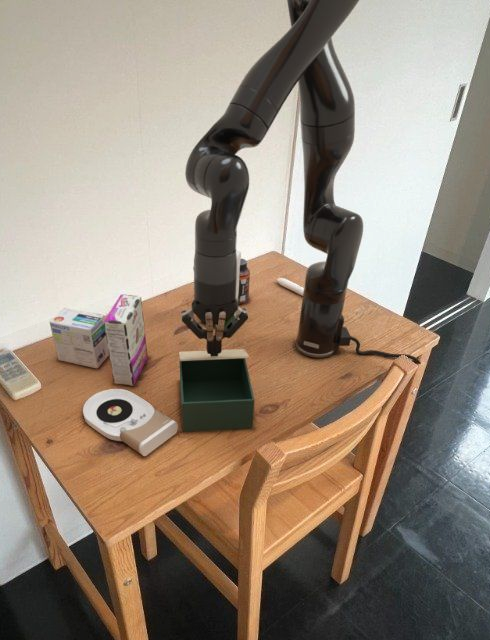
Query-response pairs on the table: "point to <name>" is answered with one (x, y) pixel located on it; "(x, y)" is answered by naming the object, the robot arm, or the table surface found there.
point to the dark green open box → (216, 395)
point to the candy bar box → (126, 339)
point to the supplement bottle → (243, 282)
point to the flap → (205, 356)
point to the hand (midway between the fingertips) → (214, 353)
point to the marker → (291, 285)
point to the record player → (128, 420)
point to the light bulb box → (80, 337)
